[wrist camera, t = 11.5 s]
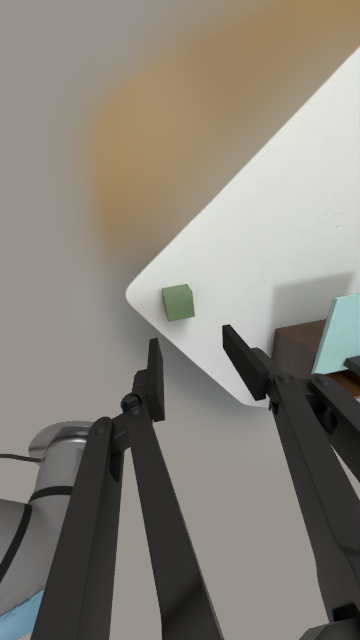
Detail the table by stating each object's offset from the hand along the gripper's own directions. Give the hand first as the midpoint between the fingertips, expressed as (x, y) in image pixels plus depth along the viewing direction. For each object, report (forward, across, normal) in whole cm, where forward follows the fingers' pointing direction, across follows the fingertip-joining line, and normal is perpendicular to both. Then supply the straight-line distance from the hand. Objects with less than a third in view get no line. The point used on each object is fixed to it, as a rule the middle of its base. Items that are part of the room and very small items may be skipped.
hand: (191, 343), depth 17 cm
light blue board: (+5, +29, -7) cm, 30 cm away
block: (+15, 0, 0) cm, 15 cm away
